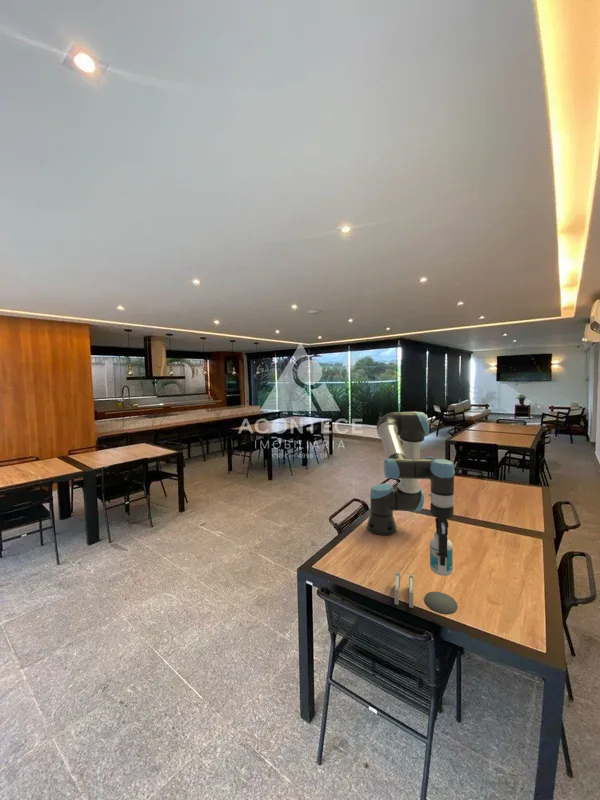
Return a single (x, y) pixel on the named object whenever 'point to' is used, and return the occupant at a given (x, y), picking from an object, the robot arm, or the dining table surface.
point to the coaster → (440, 602)
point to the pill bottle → (434, 558)
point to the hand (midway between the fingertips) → (441, 566)
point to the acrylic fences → (399, 587)
